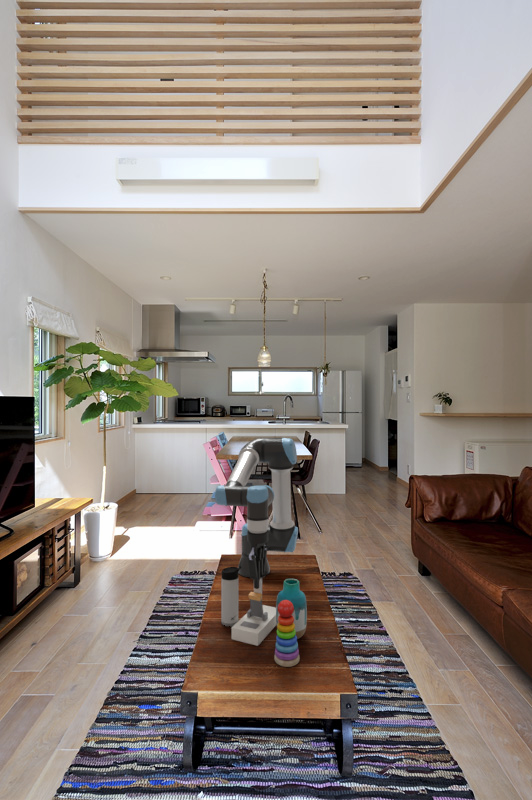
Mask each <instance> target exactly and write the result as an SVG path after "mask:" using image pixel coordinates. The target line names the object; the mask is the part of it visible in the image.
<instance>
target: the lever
mask: <svg viewBox="0 0 532 800" xmlns="http://www.w3.org/2000/svg"><path fill="white" fill-rule="evenodd" d="M248 599H249V605H250V609H251V616H255V617H259V618H262V615H263V605H264V604H263V593H262V594H260V593H255V592H254V591H250V592H249V593H248Z"/></svg>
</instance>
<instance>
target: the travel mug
mask: <svg viewBox="0 0 532 800" xmlns="http://www.w3.org/2000/svg"><path fill="white" fill-rule="evenodd" d="M238 571H239V568H238V566H229V567H225V568H223V569H222V570H221V576H220V577H221V578H220V579H221V580H220V581H221V584H220V585H221V594H220V595H221V597H220V598H221V601H220V602H221V603H220V604H221V607H220V608H221V611H220V612H221V615H220V617H221V625H223V626H224V625H225V627H229V626H230V627H233V626H234V625H235V624H236V623H237V622H238V621H239V607H240V606H239V578H240V577H239V573H238Z"/></svg>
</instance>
